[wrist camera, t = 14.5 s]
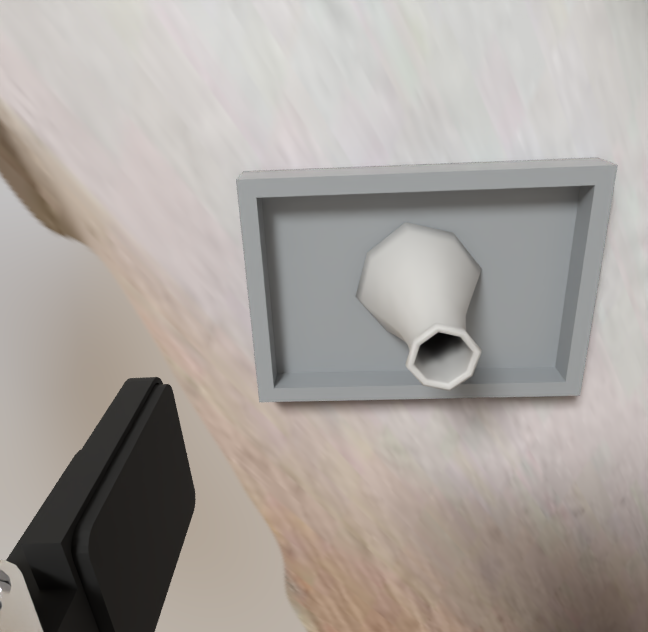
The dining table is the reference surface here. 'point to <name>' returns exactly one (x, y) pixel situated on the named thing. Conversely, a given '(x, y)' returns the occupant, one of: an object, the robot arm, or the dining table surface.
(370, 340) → the tray
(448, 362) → the flask
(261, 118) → the dining table surface
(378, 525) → the dining table surface
